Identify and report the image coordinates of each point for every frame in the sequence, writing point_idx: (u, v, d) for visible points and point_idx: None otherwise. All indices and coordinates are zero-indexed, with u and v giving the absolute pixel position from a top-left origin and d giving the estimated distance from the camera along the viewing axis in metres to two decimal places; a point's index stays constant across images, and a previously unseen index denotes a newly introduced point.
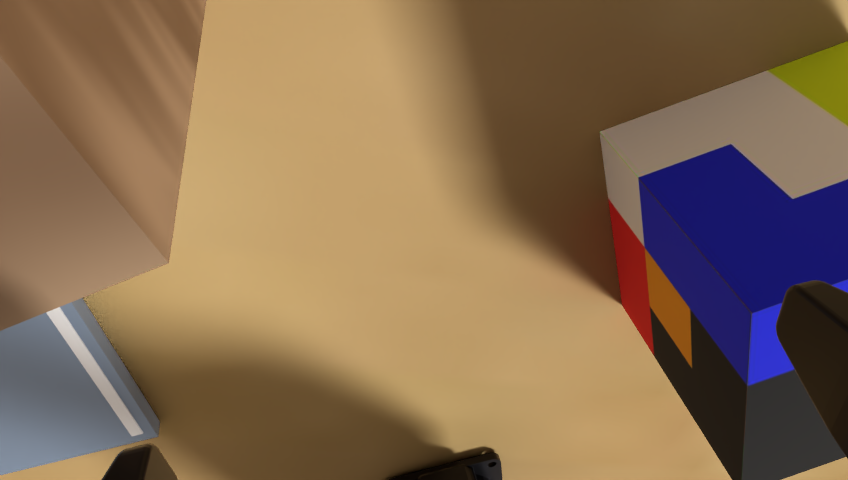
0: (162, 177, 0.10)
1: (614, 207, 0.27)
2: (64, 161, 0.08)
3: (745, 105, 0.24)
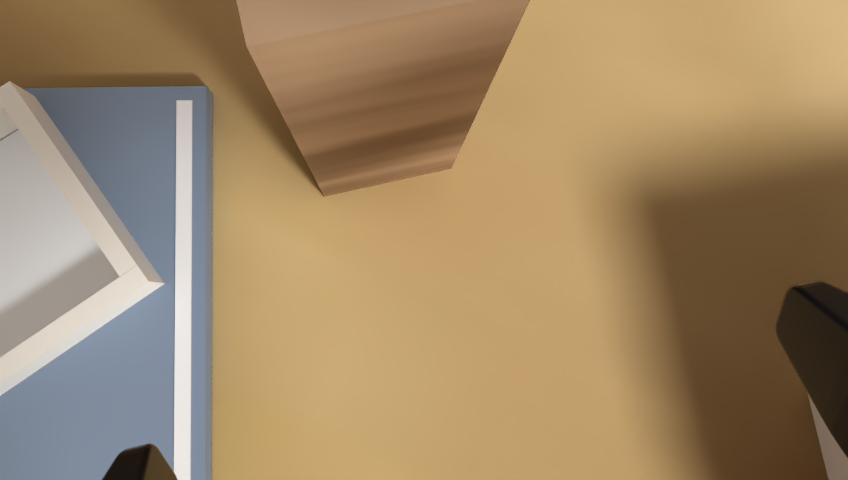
0: None
1: None
2: None
3: None
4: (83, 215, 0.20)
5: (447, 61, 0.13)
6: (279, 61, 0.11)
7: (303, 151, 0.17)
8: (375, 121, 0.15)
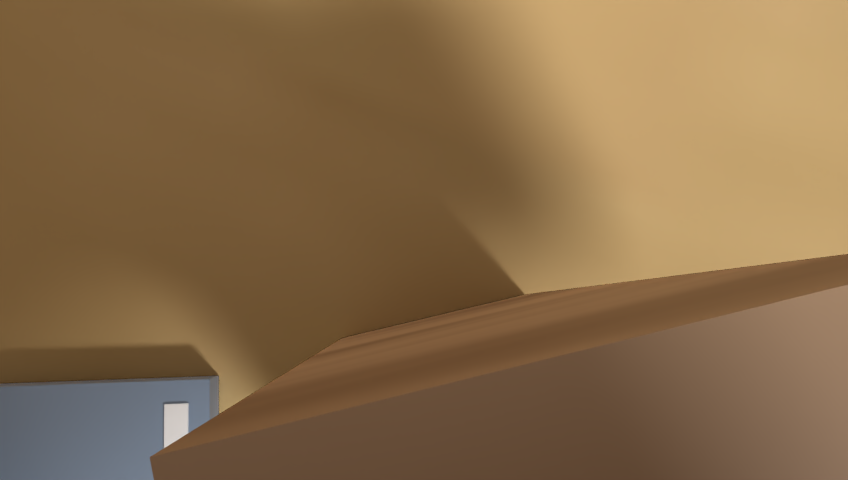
0: None
1: None
2: None
3: None
4: None
5: None
6: None
7: None
8: None
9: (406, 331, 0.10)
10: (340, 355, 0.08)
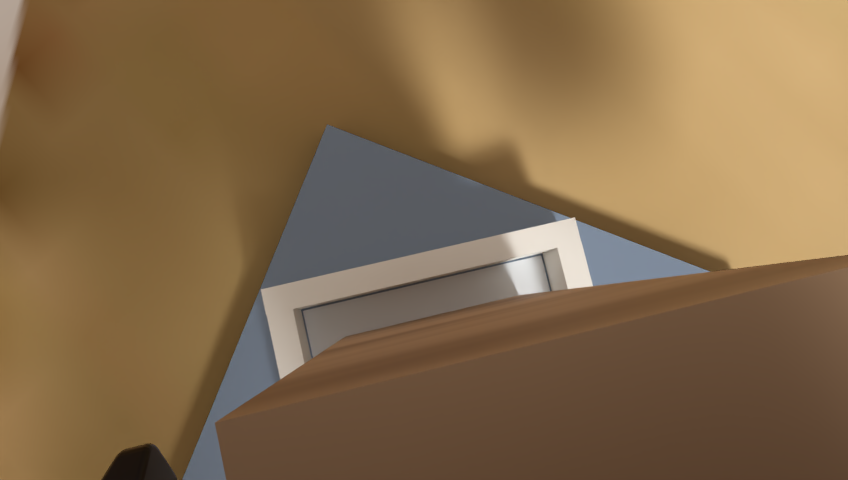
0: None
1: None
2: None
3: None
4: None
5: None
6: None
7: None
8: None
9: (406, 329, 0.11)
10: (348, 350, 0.09)
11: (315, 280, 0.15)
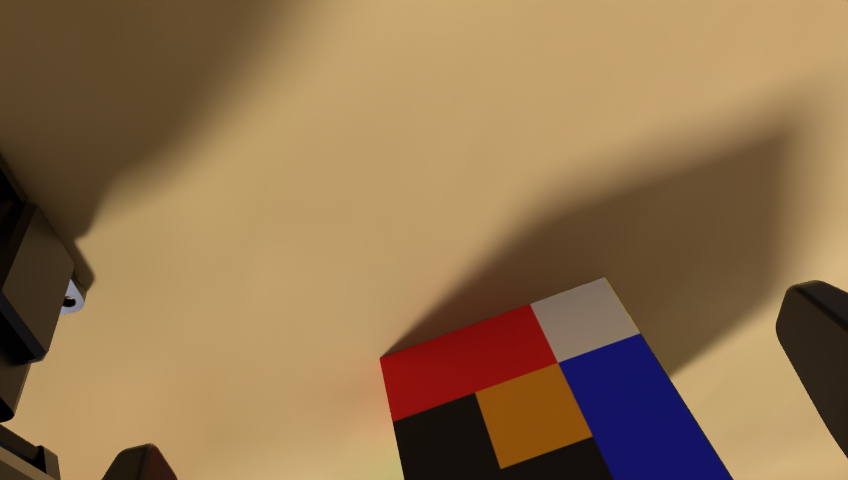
0: None
1: (534, 314, 0.27)
2: None
3: None
4: None
5: None
6: None
7: None
8: None
9: None
10: None
11: None
